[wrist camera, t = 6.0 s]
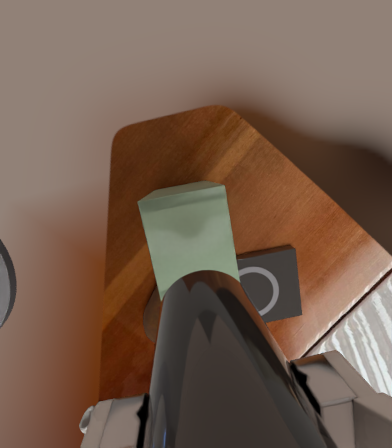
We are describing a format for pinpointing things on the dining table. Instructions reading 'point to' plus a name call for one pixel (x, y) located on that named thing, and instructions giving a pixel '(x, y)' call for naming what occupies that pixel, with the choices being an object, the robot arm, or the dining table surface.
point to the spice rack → (188, 231)
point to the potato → (152, 315)
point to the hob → (272, 282)
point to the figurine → (86, 419)
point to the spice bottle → (223, 375)
